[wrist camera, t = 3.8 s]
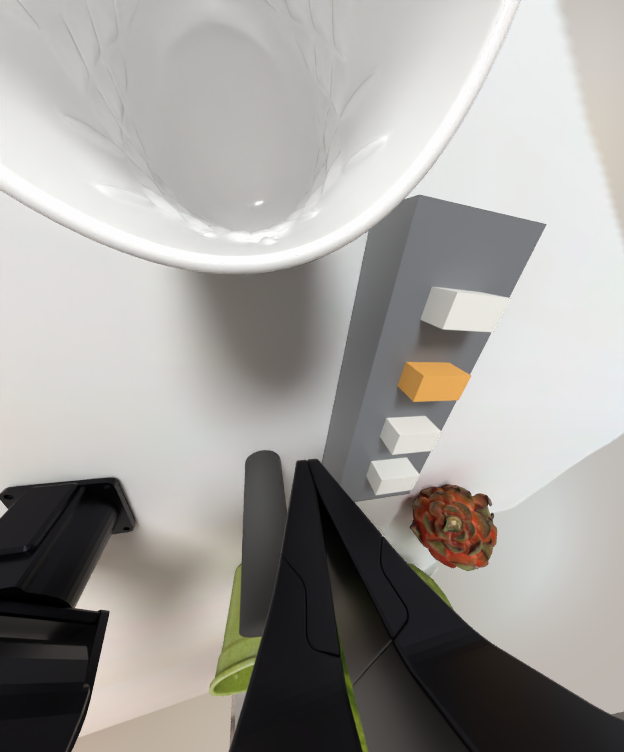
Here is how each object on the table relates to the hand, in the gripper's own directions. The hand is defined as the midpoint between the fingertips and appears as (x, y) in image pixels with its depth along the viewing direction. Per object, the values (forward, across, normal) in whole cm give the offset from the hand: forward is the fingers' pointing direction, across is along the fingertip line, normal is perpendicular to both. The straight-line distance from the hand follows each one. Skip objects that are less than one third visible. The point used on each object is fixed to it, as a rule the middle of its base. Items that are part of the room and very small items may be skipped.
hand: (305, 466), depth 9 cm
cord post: (+8, +1, +9) cm, 12 cm away
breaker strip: (+8, -8, 0) cm, 11 cm away
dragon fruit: (+8, -21, +18) cm, 29 cm away
